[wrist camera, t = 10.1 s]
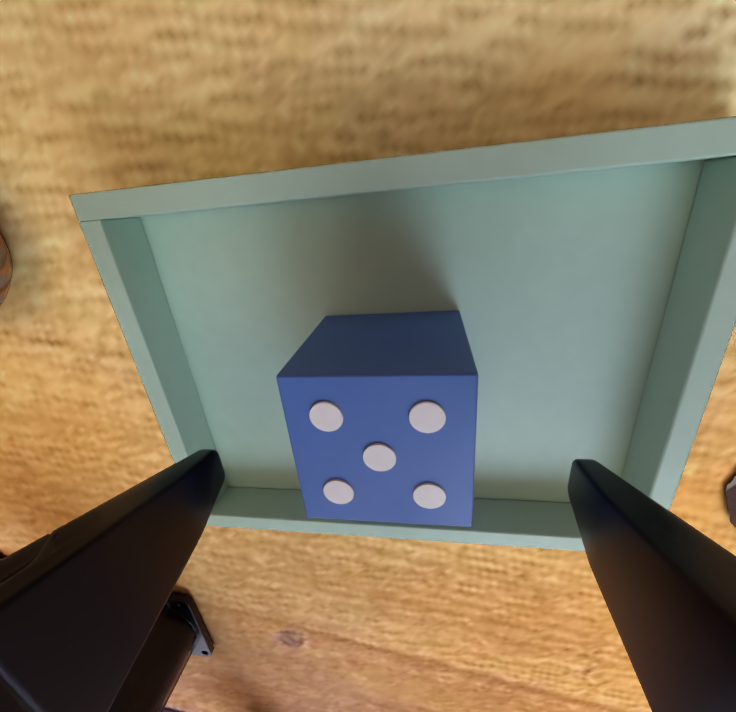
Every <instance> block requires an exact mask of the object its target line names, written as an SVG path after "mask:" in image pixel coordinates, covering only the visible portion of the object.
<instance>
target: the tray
mask: <svg viewBox="0 0 736 712" xmlns="http://www.w3.org/2000/svg"><path fill="white" fill-rule="evenodd" d="M725 493H726V497H727V499H728V504H727V508H728V510H729V512H730V515H731V516H730V522H731V523H732V524H733V525H734V526H735V527H736V476H735V477H734V479H733V481H732V482H731V483H729V484H728V486H727V488H726V491H725Z"/></svg>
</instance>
